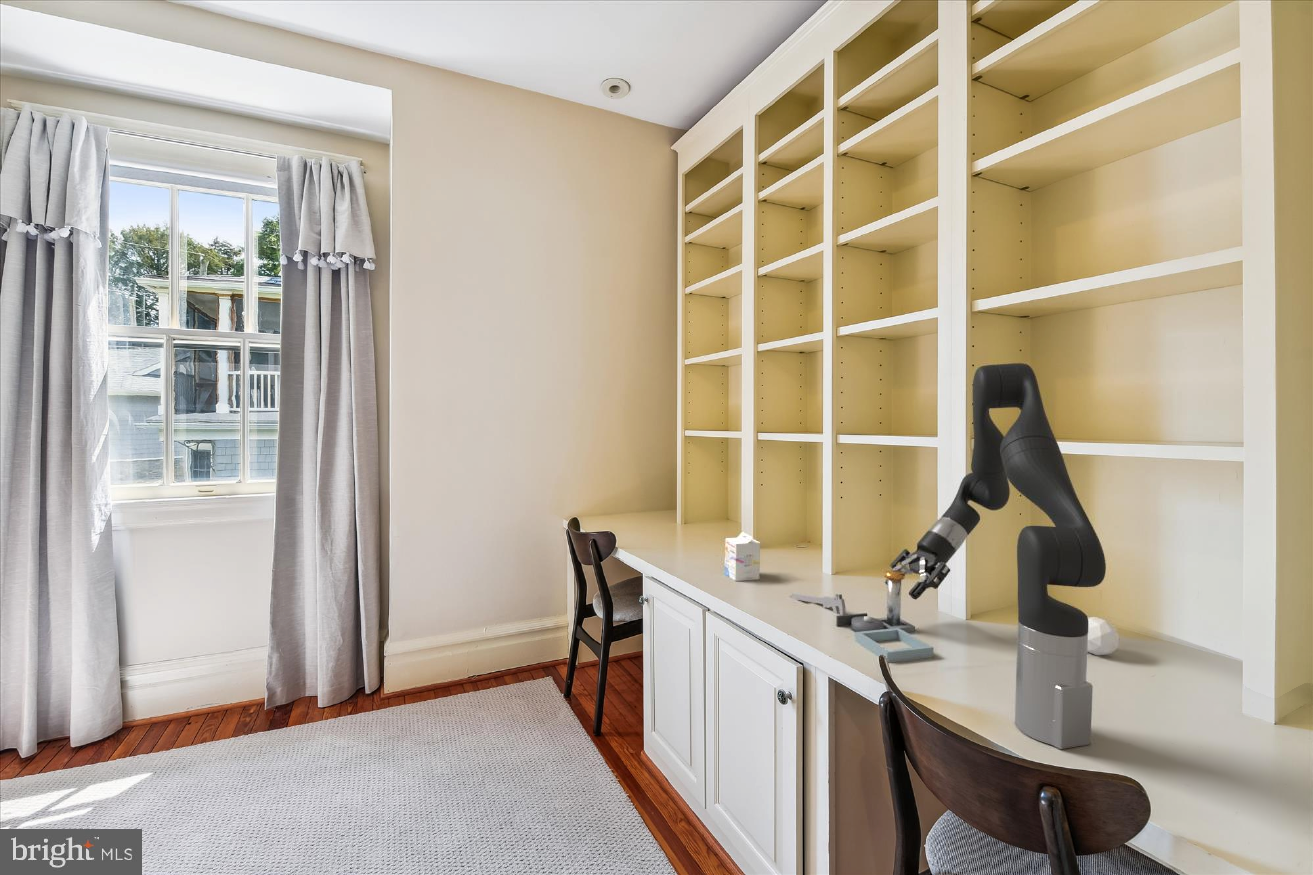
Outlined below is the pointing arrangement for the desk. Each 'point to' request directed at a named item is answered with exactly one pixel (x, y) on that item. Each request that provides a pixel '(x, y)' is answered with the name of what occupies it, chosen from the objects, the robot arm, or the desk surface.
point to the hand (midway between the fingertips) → (899, 591)
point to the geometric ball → (1101, 637)
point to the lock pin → (894, 596)
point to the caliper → (824, 601)
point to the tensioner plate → (870, 623)
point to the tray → (916, 652)
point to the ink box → (742, 558)
